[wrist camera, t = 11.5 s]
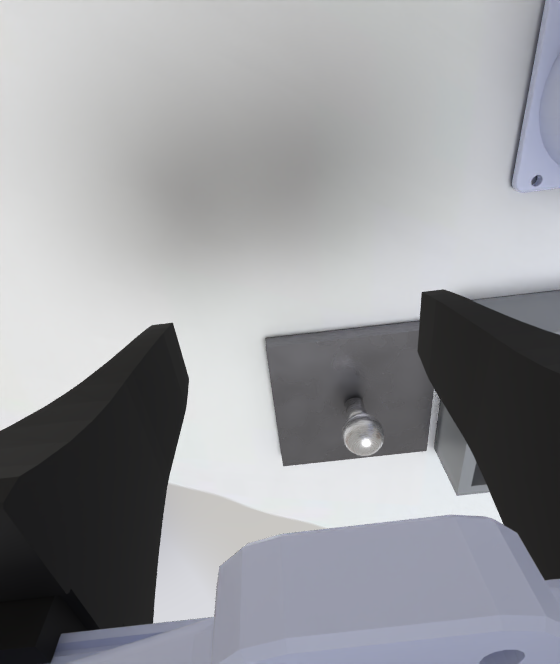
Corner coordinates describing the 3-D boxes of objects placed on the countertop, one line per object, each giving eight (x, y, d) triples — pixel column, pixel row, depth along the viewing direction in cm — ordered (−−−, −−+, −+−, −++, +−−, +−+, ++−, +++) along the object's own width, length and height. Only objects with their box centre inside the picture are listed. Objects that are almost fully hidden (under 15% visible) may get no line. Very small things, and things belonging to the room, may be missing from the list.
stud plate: (434, 319, 24) (470, 367, 20) (421, 440, 29) (447, 498, 25) (265, 338, 24) (266, 390, 20) (282, 455, 29) (286, 515, 25)
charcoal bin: (663, 278, 23) (732, 311, 20) (600, 430, 30) (644, 475, 26) (453, 302, 24) (486, 339, 20) (434, 448, 30) (456, 495, 26)
